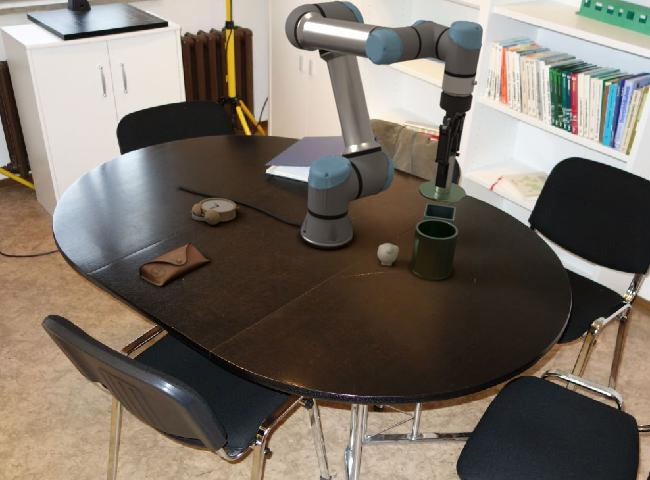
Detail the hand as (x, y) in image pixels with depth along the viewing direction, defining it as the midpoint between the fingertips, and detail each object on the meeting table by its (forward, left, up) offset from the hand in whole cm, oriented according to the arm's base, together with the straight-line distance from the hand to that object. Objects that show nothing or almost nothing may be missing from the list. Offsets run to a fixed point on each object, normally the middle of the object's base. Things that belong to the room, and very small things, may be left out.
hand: (443, 183), depth 176 cm
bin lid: (0, 0, -3) cm, 3 cm away
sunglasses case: (-59, -36, -26) cm, 74 cm away
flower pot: (-5, +18, -26) cm, 32 cm away
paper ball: (-12, -3, -23) cm, 26 cm away
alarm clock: (-68, -6, -26) cm, 73 cm away
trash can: (0, 0, -26) cm, 26 cm away
